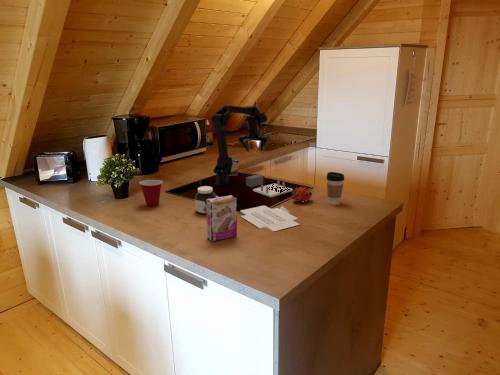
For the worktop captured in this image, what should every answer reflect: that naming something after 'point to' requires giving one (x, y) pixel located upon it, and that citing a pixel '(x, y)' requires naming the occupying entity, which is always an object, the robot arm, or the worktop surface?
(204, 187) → the spread jar
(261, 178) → the drive
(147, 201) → the plastic cup
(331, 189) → the coffee cup
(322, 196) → the worktop surface
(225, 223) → the candy bar box
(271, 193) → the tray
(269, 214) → the paper stack
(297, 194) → the dragon fruit
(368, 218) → the worktop surface
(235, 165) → the food container
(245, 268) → the worktop surface
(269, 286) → the worktop surface
